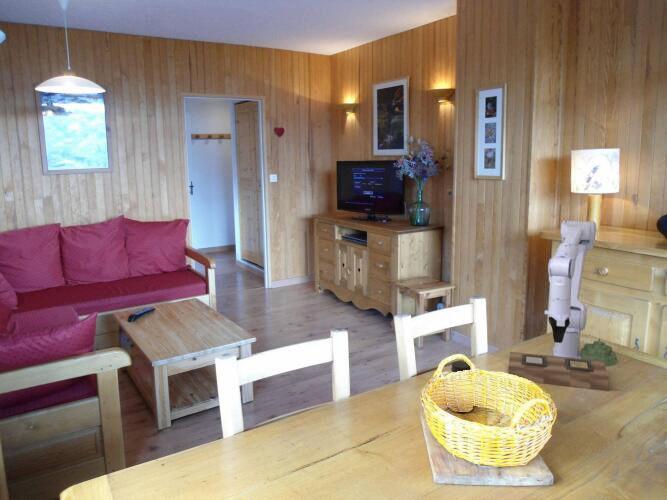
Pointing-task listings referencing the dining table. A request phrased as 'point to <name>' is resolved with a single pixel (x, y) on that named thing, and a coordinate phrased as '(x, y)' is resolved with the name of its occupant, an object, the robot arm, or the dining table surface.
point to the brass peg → (578, 364)
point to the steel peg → (533, 360)
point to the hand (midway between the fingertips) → (557, 341)
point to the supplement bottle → (459, 366)
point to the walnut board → (560, 371)
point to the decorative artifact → (599, 353)
